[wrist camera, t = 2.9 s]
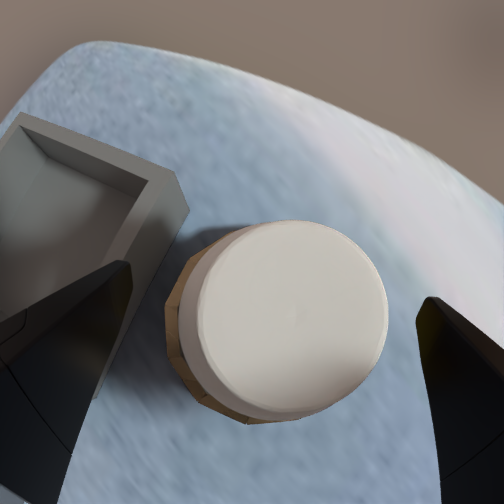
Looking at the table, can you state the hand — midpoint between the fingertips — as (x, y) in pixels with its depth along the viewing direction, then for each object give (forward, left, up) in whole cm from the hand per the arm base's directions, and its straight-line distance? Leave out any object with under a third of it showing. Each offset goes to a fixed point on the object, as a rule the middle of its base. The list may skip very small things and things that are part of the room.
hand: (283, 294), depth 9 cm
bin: (-3, +12, -7) cm, 14 cm away
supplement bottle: (-1, 0, -7) cm, 8 cm away
